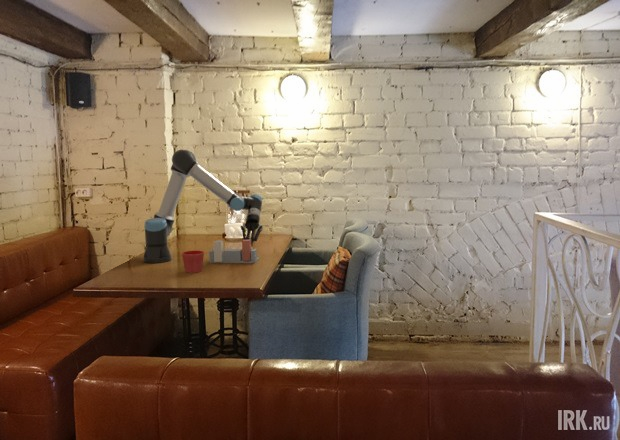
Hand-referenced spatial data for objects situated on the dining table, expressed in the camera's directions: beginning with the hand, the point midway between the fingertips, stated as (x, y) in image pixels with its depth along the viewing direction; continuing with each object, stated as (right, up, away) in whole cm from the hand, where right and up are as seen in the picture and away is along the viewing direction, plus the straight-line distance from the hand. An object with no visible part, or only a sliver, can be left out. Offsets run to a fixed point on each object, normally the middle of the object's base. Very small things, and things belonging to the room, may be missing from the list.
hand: (248, 250), depth 279 cm
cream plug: (-15, -6, -4) cm, 17 cm away
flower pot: (-24, -9, -25) cm, 36 cm away
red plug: (0, -6, -3) cm, 6 cm away
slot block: (-8, -6, 0) cm, 9 cm away
